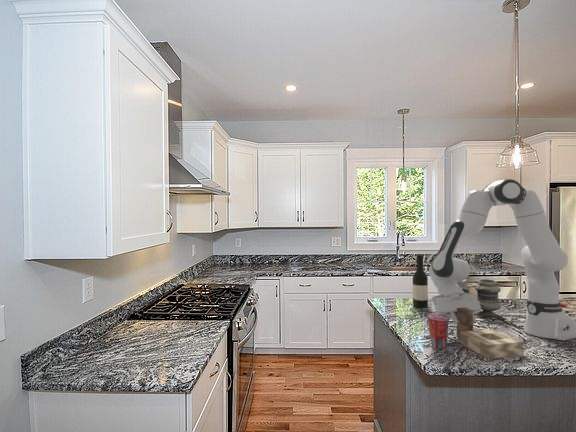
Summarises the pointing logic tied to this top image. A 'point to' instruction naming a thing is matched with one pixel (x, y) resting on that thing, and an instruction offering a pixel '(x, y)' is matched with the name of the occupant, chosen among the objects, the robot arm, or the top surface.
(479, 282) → the grey ceramic vase
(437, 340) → the cup
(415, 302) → the wine bottle
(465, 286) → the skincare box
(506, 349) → the socket block
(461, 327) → the walnut peg
